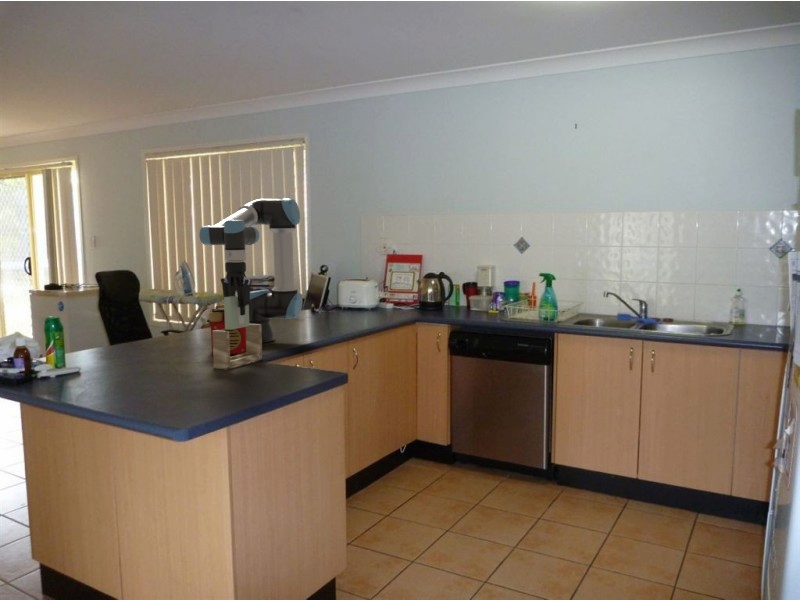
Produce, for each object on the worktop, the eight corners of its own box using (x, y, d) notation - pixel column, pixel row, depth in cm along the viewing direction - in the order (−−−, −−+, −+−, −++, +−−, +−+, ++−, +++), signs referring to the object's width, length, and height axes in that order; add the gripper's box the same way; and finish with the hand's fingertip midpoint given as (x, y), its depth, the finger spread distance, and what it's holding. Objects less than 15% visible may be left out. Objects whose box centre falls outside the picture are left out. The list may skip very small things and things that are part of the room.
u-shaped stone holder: (250, 358, 250) (248, 323, 248) (262, 359, 247) (261, 324, 246) (213, 368, 232) (212, 330, 231) (226, 369, 229) (225, 331, 228)
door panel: (243, 325, 243) (242, 294, 242) (249, 326, 242) (248, 295, 240) (225, 329, 234) (224, 297, 233) (231, 329, 233) (230, 297, 232)
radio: (210, 356, 253) (208, 307, 251) (210, 352, 263) (209, 304, 260) (250, 354, 257) (248, 306, 255) (249, 350, 267) (248, 303, 265)
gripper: (212, 261, 236) (214, 323, 238) (245, 262, 228) (247, 326, 231) (226, 260, 242) (228, 320, 245) (258, 261, 235) (260, 323, 237)
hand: (237, 323), depth 238 cm, fingers closed on door panel, 3 cm apart
